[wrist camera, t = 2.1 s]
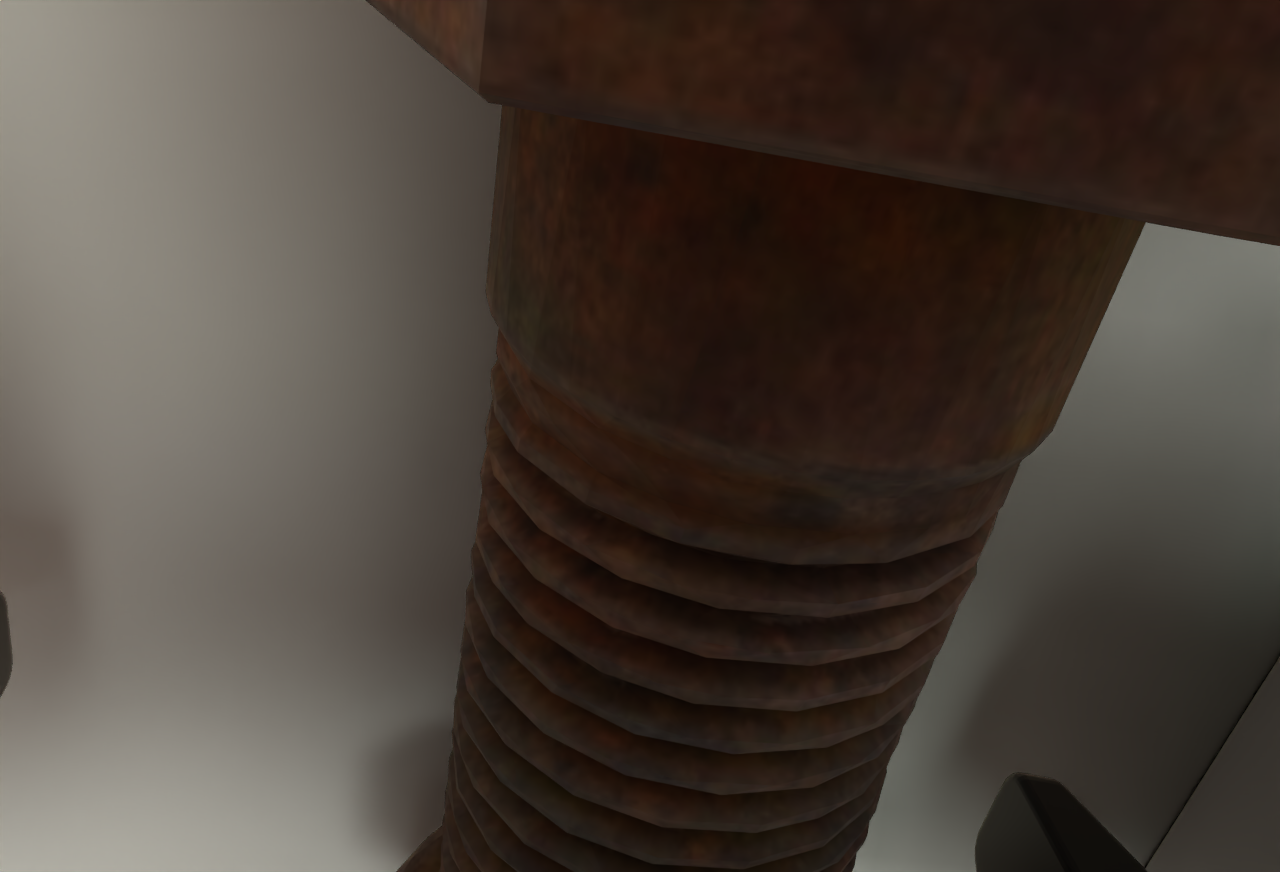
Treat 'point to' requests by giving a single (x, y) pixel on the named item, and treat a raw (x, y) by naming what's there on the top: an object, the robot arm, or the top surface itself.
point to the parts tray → (1234, 800)
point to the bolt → (785, 377)
